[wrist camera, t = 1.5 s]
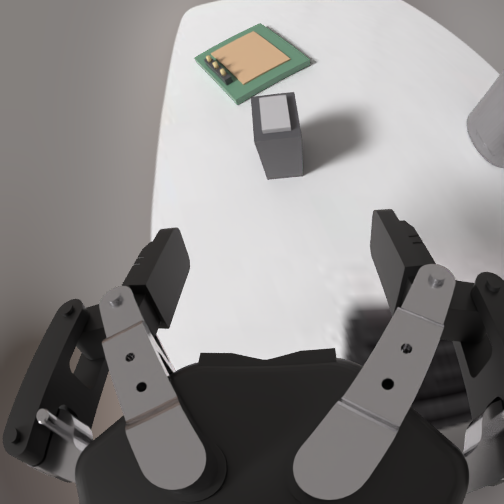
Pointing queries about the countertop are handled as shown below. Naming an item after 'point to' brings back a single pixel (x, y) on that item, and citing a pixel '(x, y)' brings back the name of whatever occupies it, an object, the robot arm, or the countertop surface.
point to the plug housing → (278, 135)
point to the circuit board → (251, 62)
